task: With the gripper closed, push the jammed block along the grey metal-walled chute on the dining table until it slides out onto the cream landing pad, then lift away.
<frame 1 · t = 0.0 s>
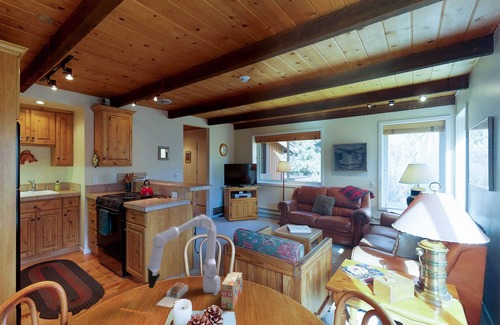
hand: (150, 284, 118), 11 cm above the table, tool pointing down, fingers open, 7 cm apart
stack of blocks: (232, 298, 125), on the table
chute: (173, 298, 124), on the table
jammed block: (178, 288, 129), point 3 cm above the table, slide at 0.0 cm
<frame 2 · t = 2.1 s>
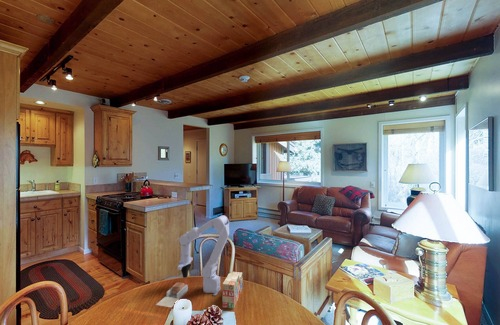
hand: (185, 277, 136), 6 cm above the table, tool pointing down, fingers closed
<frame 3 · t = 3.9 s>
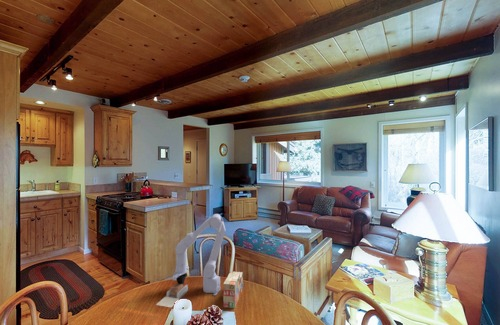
hand: (180, 287, 131), 2 cm above the table, tool pointing down, fingers closed
jammed block: (177, 289, 127), point 3 cm above the table, slide at 1.4 cm, touching gripper
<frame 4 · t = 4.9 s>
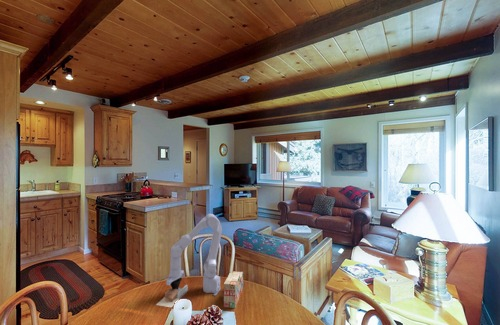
hand: (175, 292, 125), 2 cm above the table, tool pointing down, fingers closed
jammed block: (171, 294, 122), point 3 cm above the table, slide at 7.2 cm, touching gripper
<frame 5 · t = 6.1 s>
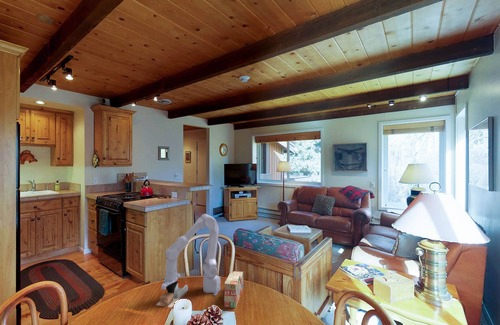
hand: (170, 296, 121), 2 cm above the table, tool pointing down, fingers closed
jammed block: (166, 299, 118), point 3 cm above the table, slide at 11.3 cm, touching gripper
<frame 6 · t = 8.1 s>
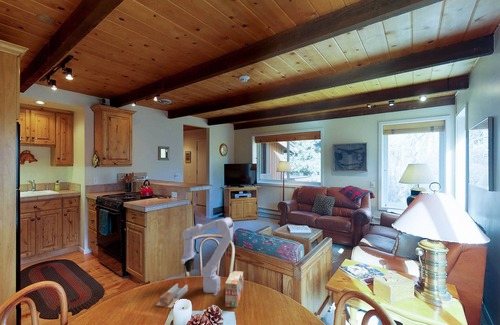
hand: (188, 271, 137), 9 cm above the table, tool pointing down, fingers closed
jammed block: (166, 299, 118), point 3 cm above the table, slide at 11.4 cm
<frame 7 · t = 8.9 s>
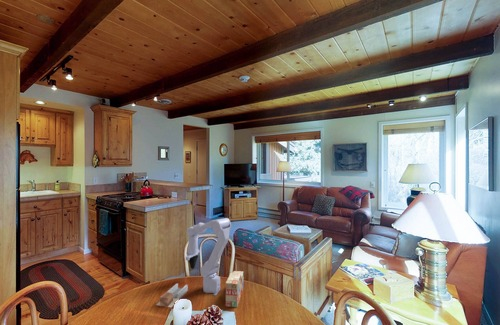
hand: (192, 267, 141), 9 cm above the table, tool pointing down, fingers closed
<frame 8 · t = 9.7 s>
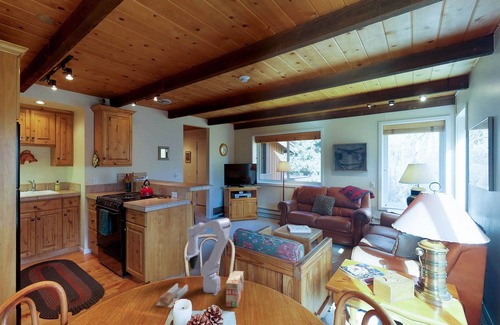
hand: (192, 267, 141), 9 cm above the table, tool pointing down, fingers closed
at the end: jammed block slide at 11.4 cm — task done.
